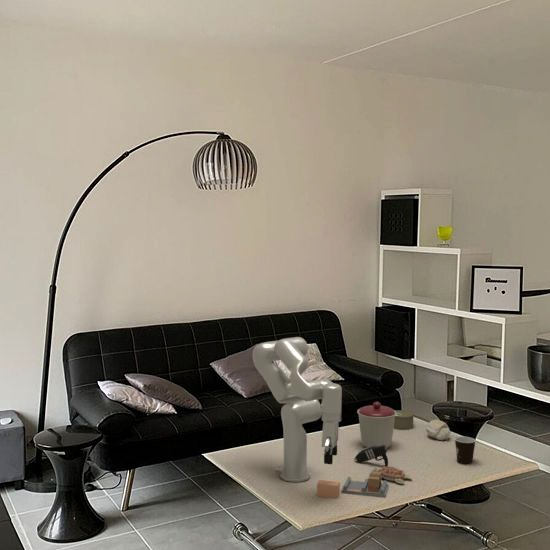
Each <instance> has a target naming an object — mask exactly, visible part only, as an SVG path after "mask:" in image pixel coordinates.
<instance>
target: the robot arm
mask: <svg viewBox="0 0 550 550" xmlns="http://www.w3.org/2000/svg"><path fill="white" fill-rule="evenodd" d="M308 351H309V345H308V343H307V341H306V340H305V339H304V338H303V337H300V336H295V337H287V338H286V337H285V338H282V339H279V340H272V341H265V342H261V343H258V344H257V345H255V346H254V348H253V350H252V361H253V364H254V367H255V368H256V371H257V372H258V373H259V374H260V375H261V377H263V379H264V381H265V382H266V384H267V386H268V388H269V390H270V392H271V394H272V395H273V397H274V399H275V400H276V402H278V404H283V406H282V407H281V410H280V416H281V417H280V418H281V421H282V428H283V430H282V431H283V434H282V435H283V464H274V465H273V469H274V470H275V472H280V473H279V477H280V478H281V480H282V481H285V482H289V483H290V482H292V483H299V482H300V483H301V482H305V481H308V480H309V479H310V478H311V472H310V471H308V467H307V465H308V463H307V462H308V459H307V458H308V453H307V452H308V448H307V447H308V445H307V444H308V438H307V432H306V430H305V429H304V427H303V424H307V423H311V422H314V421H318V420H319V419H320V418H321V421H322V422H323V423H322V433H321V434H322V435H321V447H323V448H324V453H323V463H324V465H333V463H334V462H333V460H334V459H333V456H334V457H335V456H337V455H338V441H339V423H340V422H341V421H342V401H343V400H342V398H343V397H342V395H343V394H342V393H343V391H342V390H343V389H342V386H341V385H340V384H338V383H334V382H332V381H331V380H330V379H327V378H320V379H313V380H308V381H306V380H305V379H304V378H303V377H302V376H301V375H303V373H305V372H306V371H307V369H308V368H309V364H310V363H309V360H308V358H307V357H306V355H307V354H308ZM276 361H281V363H282V364H283V365H284V366H285V367H286V369H288V370H289V372H290V373H289V377H287V376H286V374H285V372H284V370H283V369H282V368H281V367H279V365H277V364H275V363H273V362H276ZM319 400H321V403H320V401H319Z"/></svg>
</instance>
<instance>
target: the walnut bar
mask: <svg viewBox="0 0 550 550" xmlns="http://www.w3.org/2000/svg"><path fill="white" fill-rule="evenodd" d="M367 479H368V491H373V492H379V489H380V486H381V484H382V483H381V480H382V478H381V472H374V471H373V470H371V471H370V473H369V476H368V477H367Z"/></svg>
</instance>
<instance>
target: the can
mask: <svg viewBox="0 0 550 550" xmlns="http://www.w3.org/2000/svg"><path fill="white" fill-rule="evenodd" d="M395 411H396V412H397V414H396V415H395V421H394V429H393V430H397V431H407V430H408V431H409V429H410V430H413V428H414V415H415V414H414V413H413V412H412V411H409V410H403V409H402V410H400V409H399V410H397V409H396V410H395Z"/></svg>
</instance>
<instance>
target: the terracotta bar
mask: <svg viewBox="0 0 550 550" xmlns="http://www.w3.org/2000/svg"><path fill="white" fill-rule="evenodd" d="M340 484H341V483H340V481H333V480H321V479H319V480H318V481H317V483H316V489H317V491H316V496H317V497H321V498H332V499H338V498H339V496H340V492H341V491H340Z"/></svg>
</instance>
